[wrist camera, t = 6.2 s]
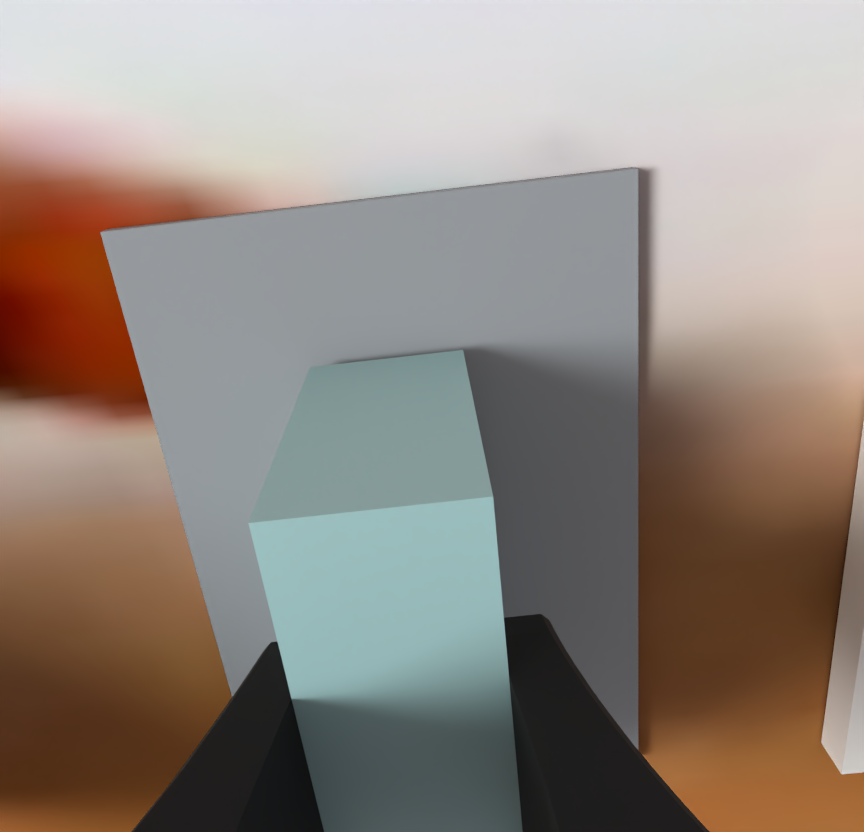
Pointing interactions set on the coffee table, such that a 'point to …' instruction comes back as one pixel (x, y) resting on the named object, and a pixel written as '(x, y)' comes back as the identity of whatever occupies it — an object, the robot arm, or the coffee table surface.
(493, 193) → the mat
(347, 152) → the coffee table surface
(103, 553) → the coffee table surface
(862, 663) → the rack
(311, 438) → the pale teal block
